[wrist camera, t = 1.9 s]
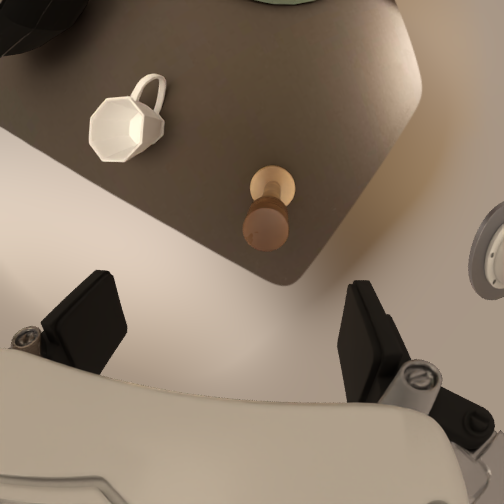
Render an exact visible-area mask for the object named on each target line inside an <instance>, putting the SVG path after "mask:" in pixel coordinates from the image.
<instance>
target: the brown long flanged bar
mask: <svg viewBox="0 0 504 504" xmlns="http://www.w3.org/2000/svg"><path fill="white" fill-rule="evenodd" d="M250 192H251V195H252V198H253V200H254V202H253V203H252V204H251V206H250V208H249V211H248V213H247V216H246V218H245V220H244V223H243V235H244V238H245V240H246V241H247V243H248V244H249V245H250V246H252V247H253V248H255V249H257V250H260V251H273V250H276V249H278V248H280V247H281V246H282V245H283V244H284V243H285V242H286V240H287V238H288V235H289V220H288V210H287V207H286V206H287V205H288V204H289V203H290V202H291V201H292V199H293V197H294V194H295V183H294V180H293V177H292V176H291V174H290V173H289V172H288V171H287V170H286V169H284V168H282V167H280V166H276V165H269V166H265V167H263V168H261V169H260V170H258V171H257V172H256V173H255V175H254V176H253V178H252V180H251V184H250Z"/></svg>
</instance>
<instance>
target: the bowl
mask: <svg viewBox="0 0 504 504" xmlns="http://www.w3.org/2000/svg"><path fill="white" fill-rule="evenodd" d="M256 1H261V2H266V3H270V4H299V3H305V2H310V1H315V0H256Z"/></svg>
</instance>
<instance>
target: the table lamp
mask: <svg viewBox="0 0 504 504" xmlns="http://www.w3.org/2000/svg"><path fill="white" fill-rule="evenodd" d="M87 3H88V0H0V57H2V56H8V55H15V54H21V53H24V52H27V51H30V50H33V49H35V48H38V47H40V46H42V45H43V44H45V43H46V42H48V41H49V40H51V39H52V38H54V37H55V36H57V35H59V34H60V33H62V32H63V31H65V30H67V29H68V28H70V27H71V26H72V25H73V24H74V23H75V21H76V20H77V18H78V17H79V15H80V14H81V12H82V11H83V9H84V8H85V7H86V5H87Z"/></svg>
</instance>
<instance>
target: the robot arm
mask: <svg viewBox="0 0 504 504" xmlns="http://www.w3.org/2000/svg"><path fill="white" fill-rule="evenodd" d="M484 270H485V276H486V279H487V280H488V282H489V283H490V284H491V285H492V286H493V287H495V288H498V289H503V288H504V224H502V225H501V227H500V228H499V229H498V230H497V231H496V233H495V234H494V236H493V238H492V239H491V241H490V244H489V246H488V249H487V252H486V257H485V264H484ZM41 325H42V327H43V329H44V331H43V332H42V333H41V331H40V329H39V328H37V327H35V326H30V327H26V328H23V329H21V330H20V331H18V332H17V333H16V334H15V336H14V337H13V339H12V342H11V348H8V349H6V348H5V349H4V348H3V349H0V504H504V433H503V432H502V431H501V430H500V431H499V432H498V433H497V432H496V431H494V427H495V424H494V419H493V417H492V415H491V414H490V413H489V411H488V410H486V409H485V408H483V407H481V406H479V405H477V404H475V403H473V402H471V401H469V400H467V399H465V398H463V397H461V396H459V395H457V394H455V393H453V392H451V391H449V390H447V389H445V388H443V387H441V384H442V375H441V373H440V371H439V370H438V368H437V367H436V366H434V365H433V364H431V363H430V362H428V361H424V360H417V359H415V360H411V358H410V356H409V354H408V351H407V349H406V347H405V345H404V342H403V340H402V338H401V336H400V334H399V332H398V329H397V327H396V325H395V323H394V321H393V319H392V317H391V316H390V315H389V314H386V313H385V311H384V309H383V307H382V305H381V303H380V301H379V299H378V297H377V295H376V293H375V291H374V289H373V287H372V285H371V283H370V281H367V280H355V281H354V282H353V284H349V285H348V288H347V295H346V300H345V306H344V311H343V317H342V322H341V327H340V332H339V337H338V343H337V348H338V354H339V358H340V364H341V369H342V375H343V380H344V386H345V392H346V398H347V403H297V402H271V401H270V402H269V401H253V400H240V399H229V398H220V397H210V396H202V395H195V394H188V393H182V392H176V391H170V390H164V389H159V388H154V387H149V386H144V385H139V384H134V383H129V382H125V381H121V380H117V379H112V378H109V377H105V376H101V375H100V373H101V372H102V370H103V369H104V367H105V365H106V364H107V362H108V361H109V359H110V358H111V356H112V354H113V353H114V352H115V350H116V349H117V347H118V345H119V344H120V343H121V341H122V340H123V338H124V337H125V335H126V333H127V324H126V321H125V317H124V314H123V311H122V307H121V303H120V300H119V296H118V292H117V288H116V284H115V281H114V277H113V275H111V274H110V272H109V271H105V270H96V271H94V272H93V273H92V274H91V275H90V276H89V277H88V278H86V279H85V280H84V281H83V282H82V283H81V284H80V285H79V286H78V287H77V288H75V289H74V290H73V291H72V292H71V293H70V294H69V295H68V296H67V297H66V298H65V299H64V300H63V301H62V302H61V303H60V304H59V305H58V306H57V307H55V308H54V309H53V311H52V312H50V313H49V314H48V315H47V316H46V318H44V319H43V320H42V321H41Z"/></svg>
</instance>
